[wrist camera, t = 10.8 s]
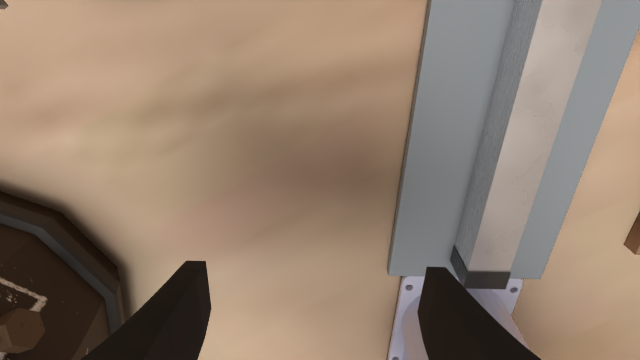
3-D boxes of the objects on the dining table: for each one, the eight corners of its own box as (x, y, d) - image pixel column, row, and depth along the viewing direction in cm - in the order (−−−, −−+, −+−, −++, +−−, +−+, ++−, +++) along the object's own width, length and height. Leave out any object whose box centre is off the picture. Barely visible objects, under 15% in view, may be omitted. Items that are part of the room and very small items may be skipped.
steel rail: (488, 261, 25) (505, 289, 23) (449, 260, 25) (462, 288, 23) (642, -245, 14) (703, -285, 12) (575, -250, 14) (623, -291, 12)
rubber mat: (535, 272, 26) (540, 279, 26) (387, 269, 26) (388, 275, 25) (749, -287, 14) (766, -297, 14) (474, -305, 14) (481, -316, 13)
